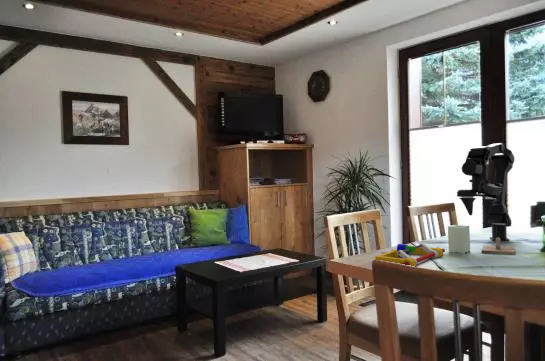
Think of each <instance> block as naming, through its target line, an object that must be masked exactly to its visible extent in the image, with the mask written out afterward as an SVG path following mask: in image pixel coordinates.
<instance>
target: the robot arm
mask: <svg viewBox="0 0 545 361" xmlns="http://www.w3.org/2000/svg"><path fill="white" fill-rule="evenodd" d="M488 161H491V163H492V167H493V169H494V171H495V174H494V182H493V183H494V184H493V183H491V179H488V167H489V164H488V163H487V162H488ZM514 163H515V156H514V154H513V151H512V150H510V149H509V148H507V146H505V145H504V143H502V142H499V143H492V144H488V145H486V146H474V147H470V150H468V153H467V156H466V159H465V162H464V163H462V166H461V172H462V173H463V174H464V175H465V176H469V177H471V179H469V180H468V181H469V183H471V189H458V191H457V192H456V197H459V200H461V202H462V204H463V205H464V207H465V210H466V211H467V213H468V215H469V216H473V213H474V212H473V211H474V202H475V200H476V199H477V198H476V197H479V198H480V197H483V198H482V203H483V210H484V213H485V214H484V215H485V216H484V218H485V223H486V226H488V227H489V226H491V236H490V237H489V239H490V240H492V241H495V242H496V238H500V242H502V241H510V240H511V239H510V238H508V236H507V234H508V233H507V232H508V231H507V227H512V219H511V216H510V215H509V213H508V211H509V210H508V208H507V207H506V205H505V203H506V202H505V200H506V190H507V184H508V183H507V181H508V173H509V172H510V171H511V170H512V169H513V166H514Z"/></svg>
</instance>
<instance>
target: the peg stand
mask: <svg viewBox="0 0 545 361" xmlns="http://www.w3.org/2000/svg"><path fill="white" fill-rule="evenodd" d="M515 248H516V247H515V246H506V245H501V241H500V238H496V241H495V245H482V248H481V254H490V253H491V254H492V255H495V254H497V255H514V256H515V255H516V249H515Z"/></svg>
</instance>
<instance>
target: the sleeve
mask: <svg viewBox="0 0 545 361" xmlns="http://www.w3.org/2000/svg"><path fill="white" fill-rule="evenodd" d="M470 232H471V231H470V225H461V224H452V225H451V224H450V225H448V226H447V239H448V241H447V242H448V252H449V251H450V252H449V253H455V252H461V253H460V254H463V253H464V254H466V253H465V252H467V253H469V252H468V251H470V252H471V237H470V236H471V235H470V234H471V233H470Z"/></svg>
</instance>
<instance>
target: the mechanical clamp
mask: <svg viewBox="0 0 545 361" xmlns="http://www.w3.org/2000/svg"><path fill="white" fill-rule="evenodd" d="M445 252H446V249H445V248H443V247H442V248H441V247H439V246H436V247H429V246H428V245H427V244H425V243H423V242H422V243H419V244H418V245H408V244H404V243H403V244H402V243H398V244H397V245H396V249H391V251H381V253H380V254H379V255H375V256H374V258H375V260H383V261H389V262H395V263H400V264H405V265H411V266H415V267H417V265H418V263H421V262H423V261H425V260H429V259H435V258H441V257H442V256H444V253H445ZM411 255H419V256H420V257H419V256H418V257H416V258H414V257H411Z"/></svg>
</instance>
